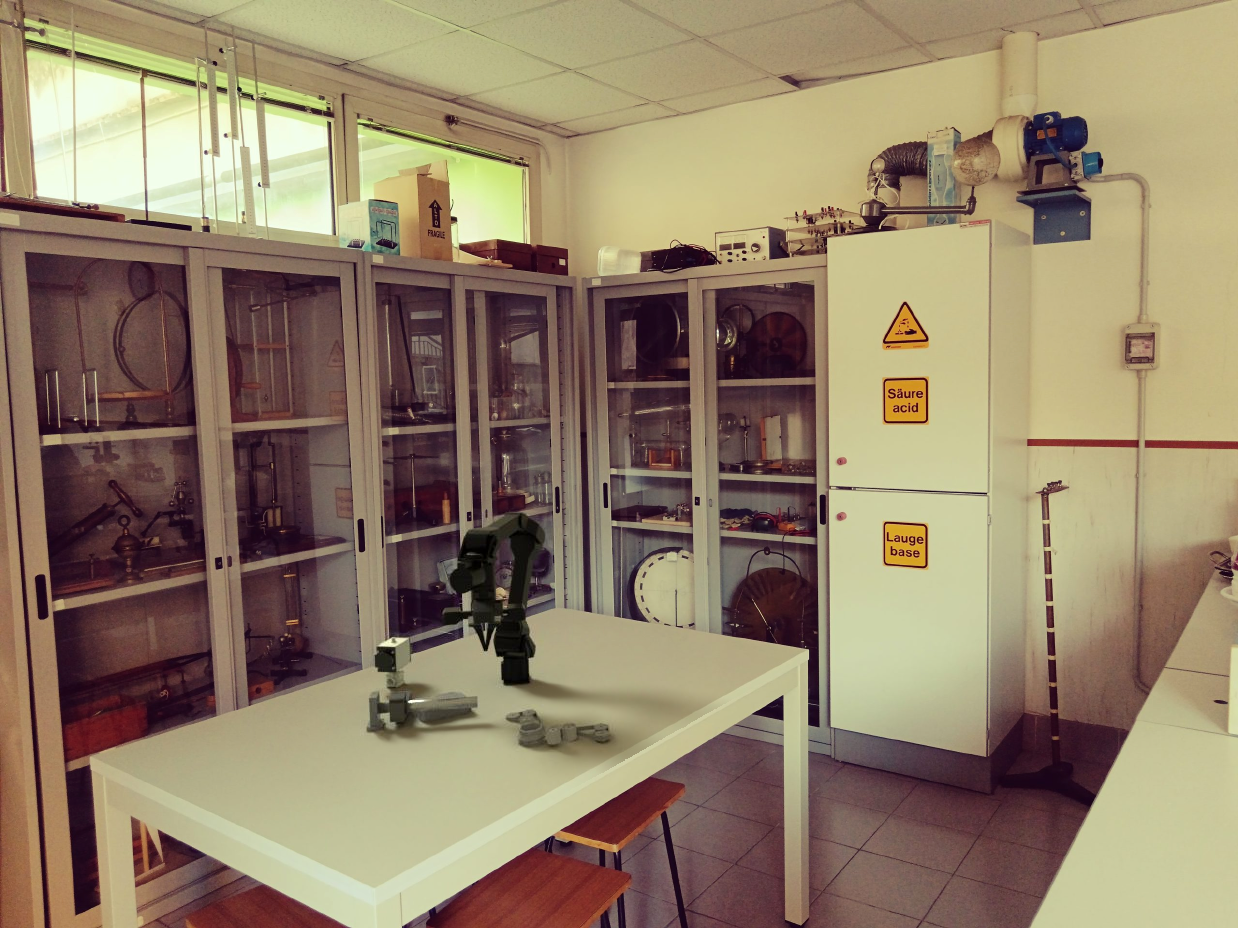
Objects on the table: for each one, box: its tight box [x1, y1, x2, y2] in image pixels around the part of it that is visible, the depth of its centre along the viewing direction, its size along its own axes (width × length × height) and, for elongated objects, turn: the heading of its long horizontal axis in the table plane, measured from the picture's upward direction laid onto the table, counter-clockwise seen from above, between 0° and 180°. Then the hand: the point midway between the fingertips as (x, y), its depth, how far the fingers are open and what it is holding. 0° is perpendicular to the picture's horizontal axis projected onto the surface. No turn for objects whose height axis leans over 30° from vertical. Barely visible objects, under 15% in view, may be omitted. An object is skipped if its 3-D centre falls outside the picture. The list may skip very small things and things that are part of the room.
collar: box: [388, 690, 413, 723], centre depth 199 cm, size 3×14×5 cm, turn 7°
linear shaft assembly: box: [366, 691, 479, 732], centre depth 194 cm, size 23×5×7 cm, turn 97°
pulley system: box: [505, 708, 611, 748], centre depth 187 cm, size 27×5×15 cm
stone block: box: [411, 691, 473, 723], centre depth 202 cm, size 12×5×10 cm
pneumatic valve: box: [374, 636, 413, 689], centre depth 221 cm, size 6×12×12 cm, turn 168°
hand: (485, 650), depth 207 cm, fingers closed
